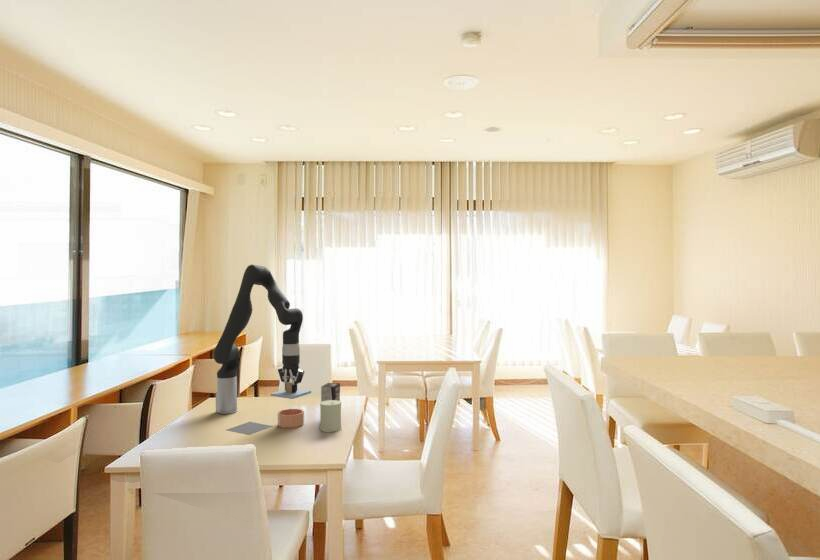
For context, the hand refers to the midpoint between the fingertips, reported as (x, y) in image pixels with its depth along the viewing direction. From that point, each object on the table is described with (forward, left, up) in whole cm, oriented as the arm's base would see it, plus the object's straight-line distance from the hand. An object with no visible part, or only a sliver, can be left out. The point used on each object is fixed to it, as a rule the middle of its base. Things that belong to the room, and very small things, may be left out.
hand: (291, 391), depth 229 cm
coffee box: (+9, +16, -15) cm, 24 cm away
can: (+18, +4, -15) cm, 24 cm away
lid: (0, 0, -1) cm, 1 cm away
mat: (-13, -13, -15) cm, 23 cm away
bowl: (0, 0, -15) cm, 15 cm away
